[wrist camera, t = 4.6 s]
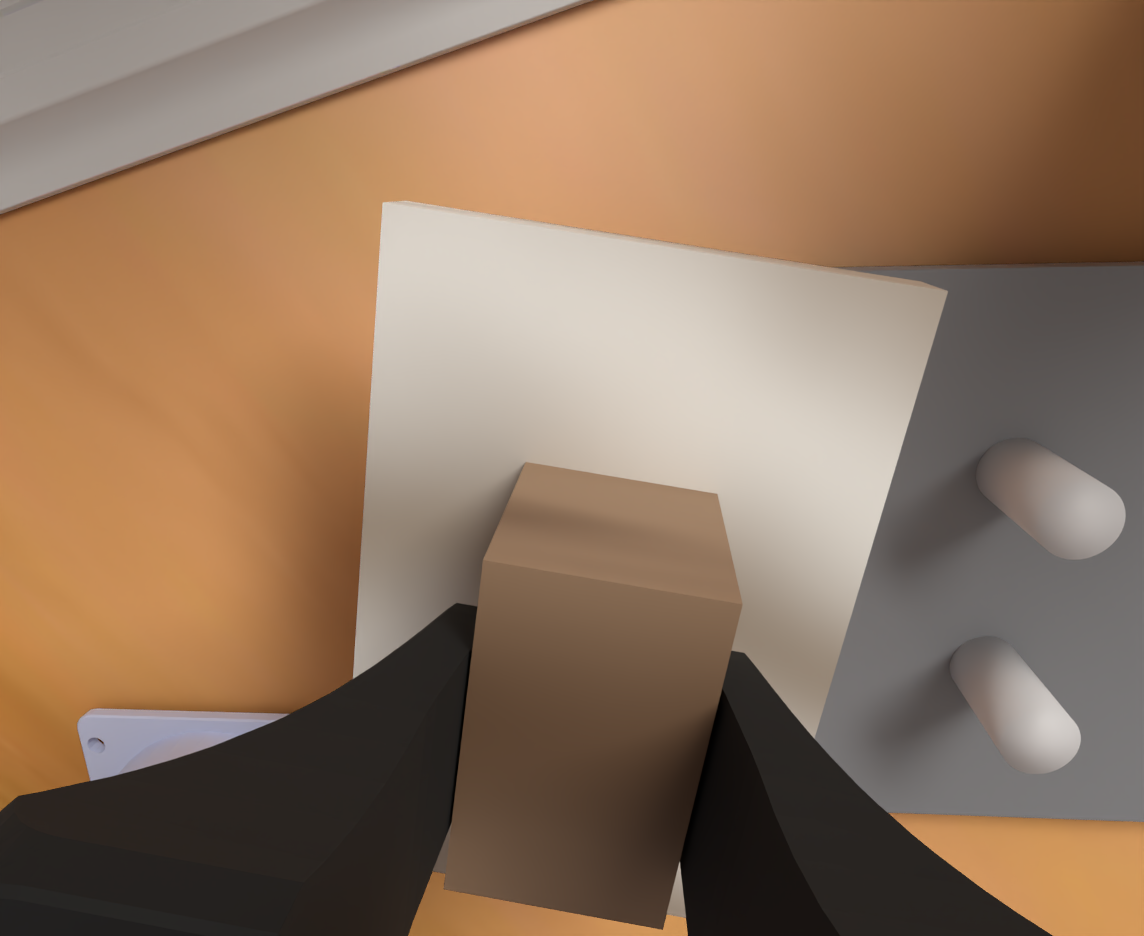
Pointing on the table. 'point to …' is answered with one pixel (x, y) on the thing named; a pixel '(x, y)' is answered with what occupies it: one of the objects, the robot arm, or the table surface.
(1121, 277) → the peg stand
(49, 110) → the baseboard molding
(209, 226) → the table surface
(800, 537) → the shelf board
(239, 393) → the table surface
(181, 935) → the robot arm
